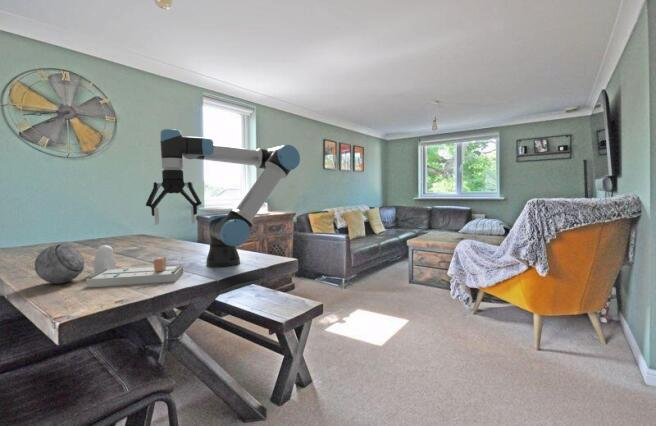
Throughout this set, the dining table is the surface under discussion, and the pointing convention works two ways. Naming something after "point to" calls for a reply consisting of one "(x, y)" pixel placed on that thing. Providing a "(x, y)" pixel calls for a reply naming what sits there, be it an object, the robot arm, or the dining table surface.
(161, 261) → the fader knob
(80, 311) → the dining table surface
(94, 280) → the board
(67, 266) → the grey rounded lump
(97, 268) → the figurine
